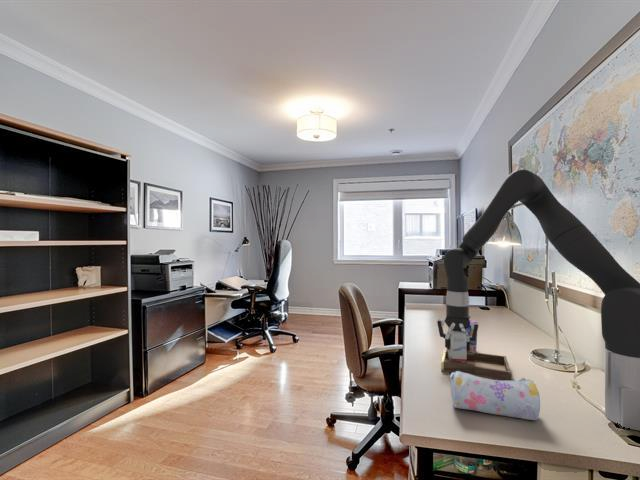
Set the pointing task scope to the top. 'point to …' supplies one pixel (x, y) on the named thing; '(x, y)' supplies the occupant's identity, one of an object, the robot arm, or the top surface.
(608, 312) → the robot arm
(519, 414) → the pencil case
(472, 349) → the ink cartridge box
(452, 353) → the ink box
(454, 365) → the wooden tray
